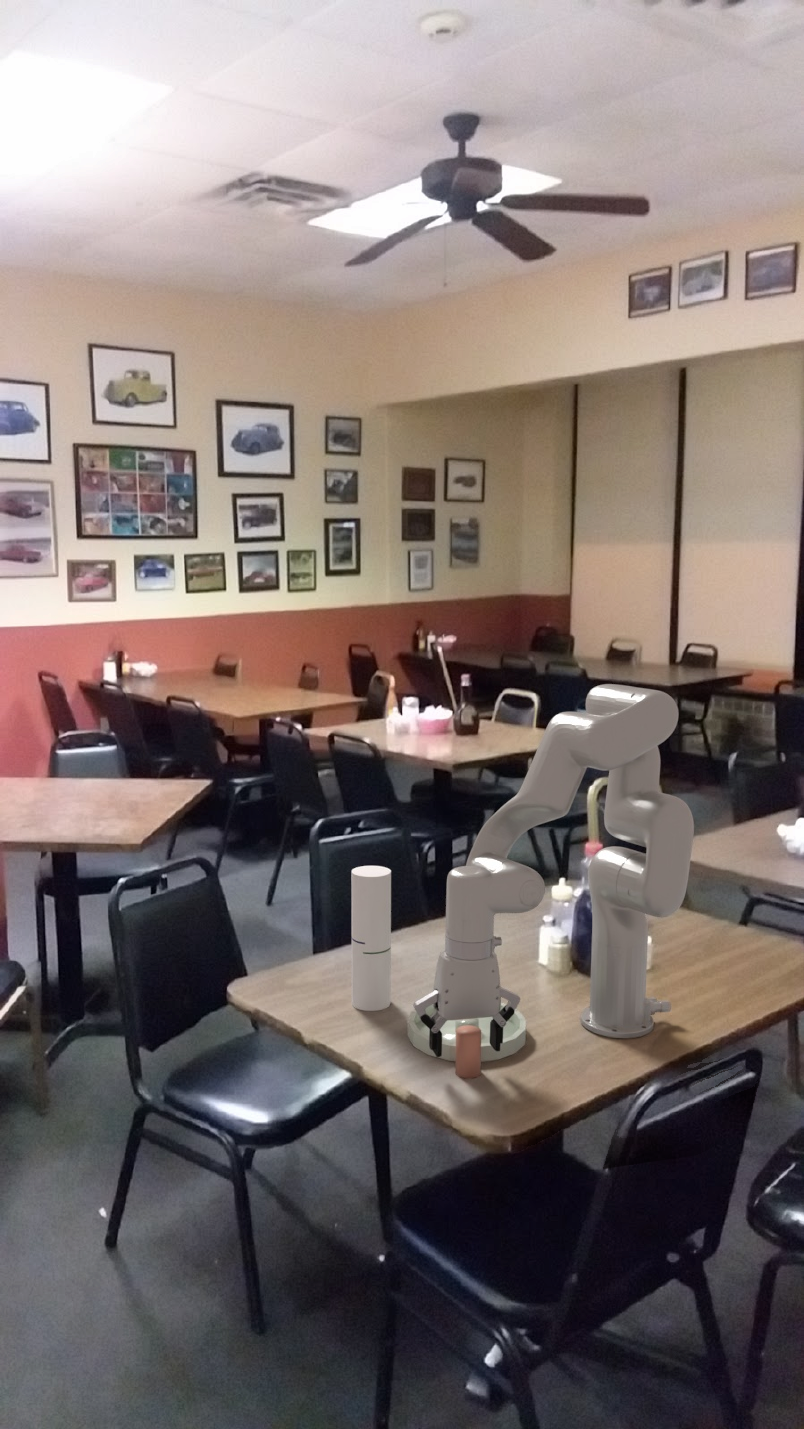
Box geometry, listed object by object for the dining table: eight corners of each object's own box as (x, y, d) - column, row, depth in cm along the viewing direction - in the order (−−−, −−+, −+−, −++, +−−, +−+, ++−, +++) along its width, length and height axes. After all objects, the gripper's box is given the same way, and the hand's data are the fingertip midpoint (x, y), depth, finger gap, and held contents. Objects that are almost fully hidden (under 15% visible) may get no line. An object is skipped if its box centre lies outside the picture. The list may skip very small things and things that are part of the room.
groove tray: (502, 1005, 195) (502, 992, 195) (543, 1054, 176) (543, 1039, 176) (396, 1016, 190) (396, 1002, 190) (426, 1067, 171) (426, 1052, 171)
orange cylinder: (475, 1065, 172) (476, 1024, 171) (483, 1076, 168) (484, 1034, 167) (452, 1068, 171) (452, 1026, 170) (459, 1079, 167) (460, 1037, 166)
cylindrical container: (365, 992, 201) (365, 863, 198) (397, 1000, 197) (398, 869, 194) (344, 1005, 195) (343, 872, 191) (377, 1014, 191) (377, 879, 188)
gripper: (512, 934, 172) (509, 1035, 175) (409, 941, 168) (407, 1045, 170) (529, 950, 165) (525, 1055, 167) (422, 958, 161) (419, 1066, 163)
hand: (465, 1050), depth 169 cm, fingers open, 9 cm apart
